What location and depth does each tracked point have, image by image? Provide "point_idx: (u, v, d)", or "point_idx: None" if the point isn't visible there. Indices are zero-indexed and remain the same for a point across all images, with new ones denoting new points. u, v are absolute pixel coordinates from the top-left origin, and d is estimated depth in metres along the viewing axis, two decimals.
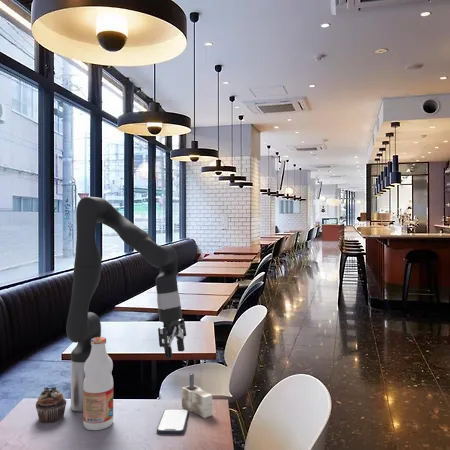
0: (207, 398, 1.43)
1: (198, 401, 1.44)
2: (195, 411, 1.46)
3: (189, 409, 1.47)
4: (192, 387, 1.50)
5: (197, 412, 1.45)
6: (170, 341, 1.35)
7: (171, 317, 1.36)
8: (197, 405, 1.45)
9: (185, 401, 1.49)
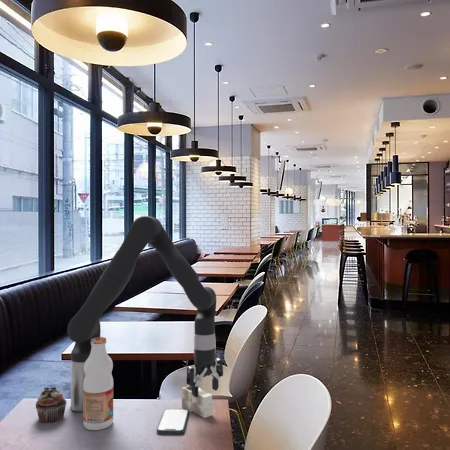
0: (207, 398, 1.43)
1: (198, 401, 1.44)
2: (195, 411, 1.46)
3: (189, 409, 1.47)
4: None
5: (197, 412, 1.45)
6: (197, 381, 1.41)
7: (201, 359, 1.41)
8: (197, 405, 1.45)
9: (185, 401, 1.49)
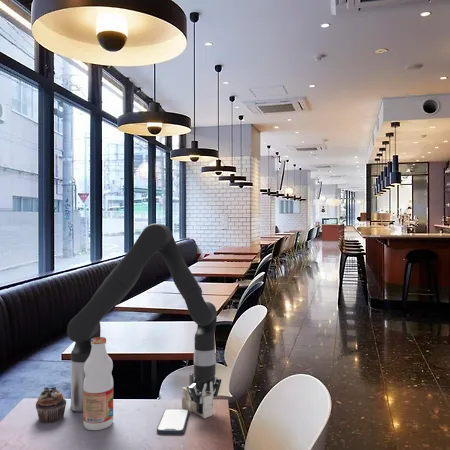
0: (207, 398, 1.43)
1: None
2: (195, 411, 1.46)
3: (189, 409, 1.47)
4: None
5: (197, 412, 1.45)
6: (201, 398, 1.42)
7: (201, 375, 1.41)
8: None
9: (185, 401, 1.49)
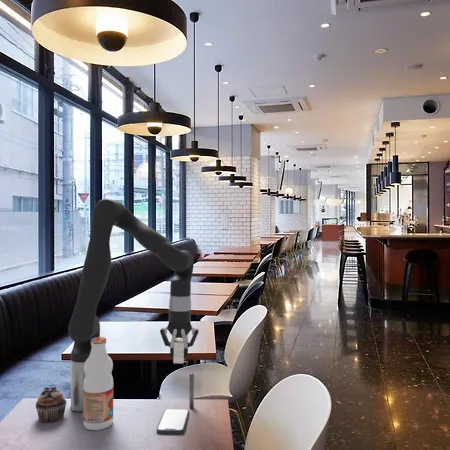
0: (177, 344, 1.43)
1: None
2: None
3: None
4: (192, 387, 1.50)
5: None
6: (172, 342, 1.44)
7: (170, 319, 1.43)
8: None
9: None
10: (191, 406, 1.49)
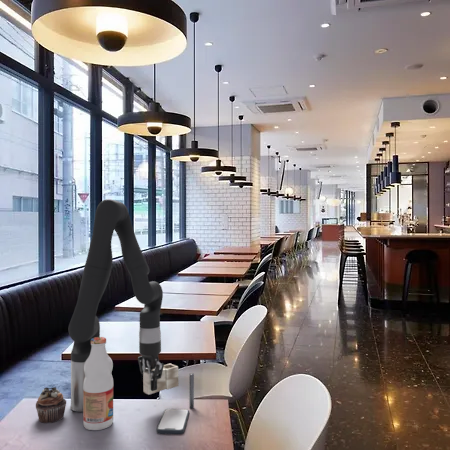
0: (145, 374, 1.46)
1: None
2: None
3: None
4: (192, 387, 1.50)
5: None
6: (144, 371, 1.48)
7: None
8: None
9: None
10: (191, 406, 1.49)
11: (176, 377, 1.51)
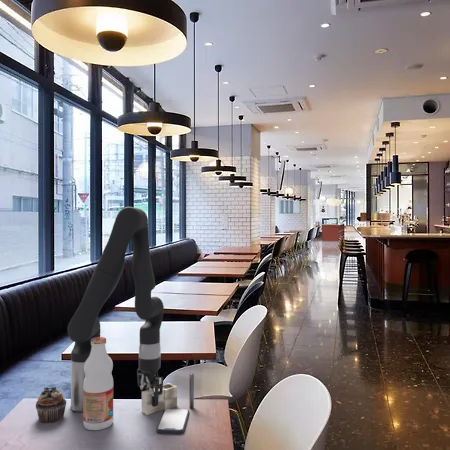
0: (143, 394, 1.46)
1: None
2: None
3: None
4: (192, 387, 1.50)
5: None
6: (141, 385, 1.49)
7: None
8: None
9: None
10: (191, 406, 1.49)
11: (175, 397, 1.51)
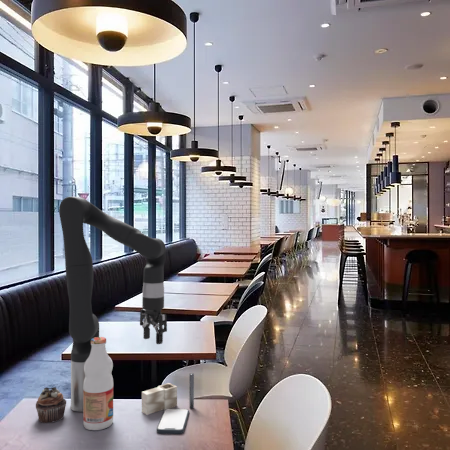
0: (143, 394, 1.46)
1: None
2: None
3: None
4: (192, 387, 1.50)
5: None
6: (144, 324, 1.50)
7: None
8: None
9: None
10: (191, 406, 1.49)
11: (175, 397, 1.51)
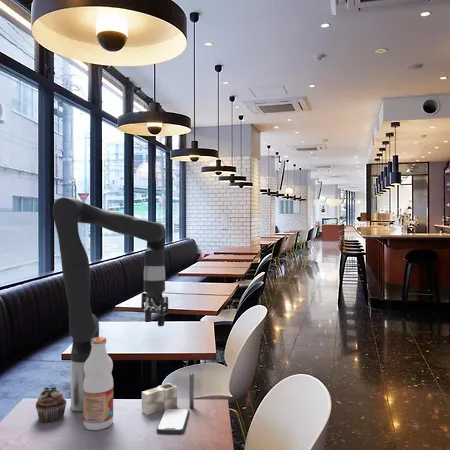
0: (143, 394, 1.46)
1: None
2: None
3: None
4: (192, 387, 1.50)
5: None
6: (145, 307, 1.52)
7: None
8: None
9: None
10: (191, 406, 1.49)
11: (175, 397, 1.51)
